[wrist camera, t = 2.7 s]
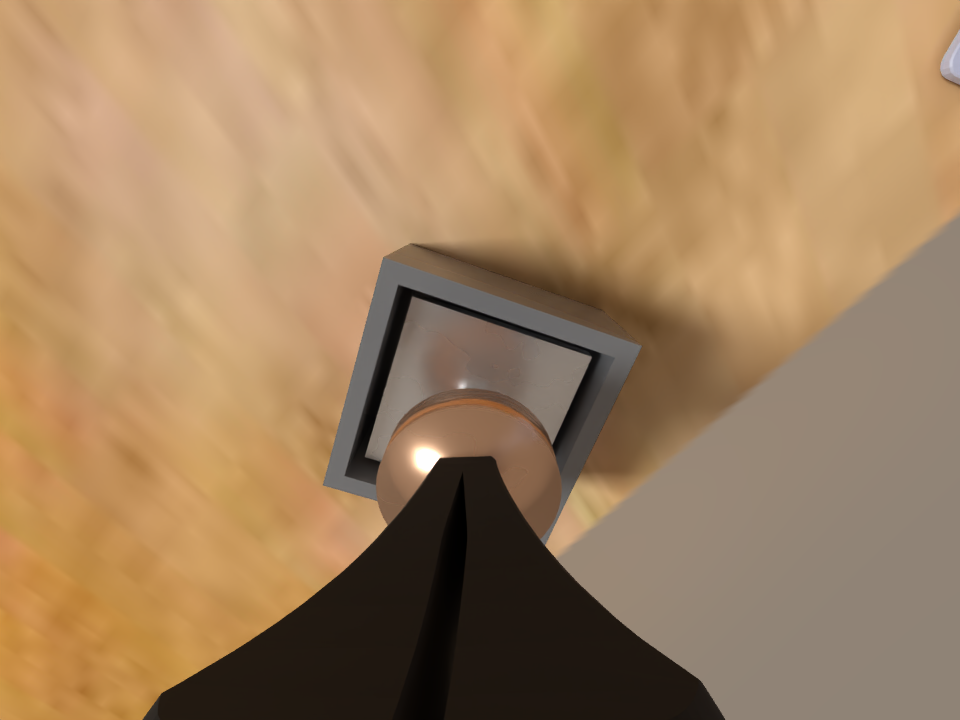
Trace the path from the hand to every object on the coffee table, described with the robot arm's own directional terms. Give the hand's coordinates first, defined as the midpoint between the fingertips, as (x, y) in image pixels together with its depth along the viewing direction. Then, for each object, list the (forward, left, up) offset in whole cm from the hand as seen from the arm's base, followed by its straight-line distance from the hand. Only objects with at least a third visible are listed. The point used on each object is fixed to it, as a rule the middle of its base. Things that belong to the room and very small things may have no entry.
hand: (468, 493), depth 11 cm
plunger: (0, 0, -5) cm, 5 cm away
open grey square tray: (0, 0, -9) cm, 9 cm away
